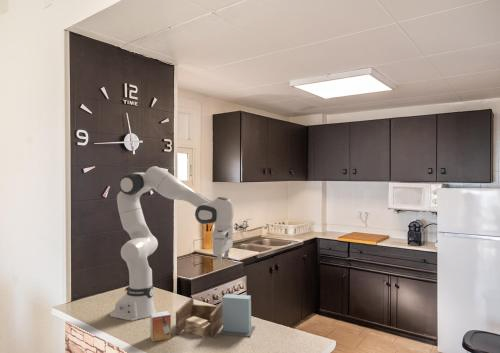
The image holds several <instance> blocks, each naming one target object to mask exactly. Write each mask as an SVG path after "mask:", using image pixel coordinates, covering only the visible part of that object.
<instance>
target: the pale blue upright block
mask: <svg viewBox="0 0 500 353" xmlns="http://www.w3.org/2000/svg"><path fill="white" fill-rule="evenodd" d="M221 299H222V300H223V325H222V328H223V331H232V332H244V333H249V332H250V330H251V326H252V301H251V300H252V295H248V294H247V295H246V294H233V293H232V294H228V293H225V294H224V295H223V296H222V297H221Z"/></svg>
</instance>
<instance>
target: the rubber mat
mask: <svg viewBox="0 0 500 353" xmlns="http://www.w3.org/2000/svg"><path fill="white" fill-rule="evenodd" d="M255 328H256V326H255V325H251V330H250V332H249V333H244V332H232V331H223V327H221V330H219V332H218V335H223V336H234V337H244V338H251V336H252V334H253V332H254V330H255Z"/></svg>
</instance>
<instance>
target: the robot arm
mask: <svg viewBox="0 0 500 353" xmlns="http://www.w3.org/2000/svg"><path fill="white" fill-rule="evenodd" d="M118 186H119V190H120V192H118V194H117V196H116V202H117V208H118V209H117V210H118V214H119V217H120V222H121V225H122V229H123V230H124V231H125V232H127V234H128V235H129V237H130V240H128V241H126V242H125V243H124V244H123V245H122V247H121V249H120V256H121V258H122V260H124V261H125V263H126V265H127V266H126V267H127V269H128V275H129V276H128V277H129V279H128V280H129V285H128V286H127V287H125V289H124V292H126V293H125V294H124V295H123V296H121V297H120V298H119V299H118V300H117V301H115V302H116V303H115V305H114V309H113V310H112V311H111V312H110V313H109V317H111V318H116V319H121V320H126V321H134V322H135V321H136V320H139V319H140V320H141V319H146V318H150V313H157V310H156V307H155V302H154V284H153V270H152V268H151V267H150V265H149V261H148V257H149V256H150V255H153V253H154V252H156V250H157V248H158V246H159V242H158V239H157V237H155V236H154V235H153V234H152V232H151V231H150V229H149V227H148V225H147V223H146V219H145V215H144V213H143V209H142V205H141V201H140V198H141V196H146V195H147V194H148V193H150V192H151V191H153V190H154V191H156V192H157V193H158V194H160V195H161V196H162V197H164V198H167V199H169V200H177V201H185V202H187V203H189V204H190V205H192V206H194V207H196V209H195V210H194V211H195V212H194V216H195V219H196V222H198V223H200V224H203V225H208V224H214V229H213V231H212V233H211V238H212V253H213V255H214V256H216V258H217V263H218V264H222V263H223V261H224V260H223V258H224V259H228V258H229V255H230V249H231V248H232V247H233V245H234V239H233V238H234V237H233V236H234V222H233V221H234V220H233V219H234V203H233V201H232V199H230V198H229V197H224V196H223V197H222V196H217V197H216V198H215V199H213V200H211V199H208V198H206V197H204V196H203V195H201V194H200V193H198V192H196V191H195V190H193V189H192V188H190V187H189V186H188V185H186V184H185V183H183V182H182V181H181V180H180V179H179V178H177V177H176V176H174V175H173V174H171V172H168V171H167V170H165V169H163V168H161V167H160V166H156V165H155V166H151V167H149V168H148V169H147V170H146V171H144V172H143V171H140V172H139V171H137V172H136V171H135V172H133V173H132V172H131V173H126V174H124V175H123V176H122V177H120V179H119V181H118ZM223 254H224V256H223ZM222 256H223V257H222Z"/></svg>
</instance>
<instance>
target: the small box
mask: <svg viewBox="0 0 500 353" xmlns="http://www.w3.org/2000/svg"><path fill="white" fill-rule="evenodd" d="M171 317H172V316H171V313H170V310H164V311H163V310H162V311H158V312H157V311H156V313H150V317H149V319H150V320H149V321H150V325H149V326H150V327H149V328H150V329H149V330H150V333H149V334H150V339H151V342H152V343H154V342H158V341H164V340H171V338H172V334H171V333H172V332H171V330H172V326H171V325H172V323H171V322H172V321H171V320H172V319H171Z"/></svg>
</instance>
